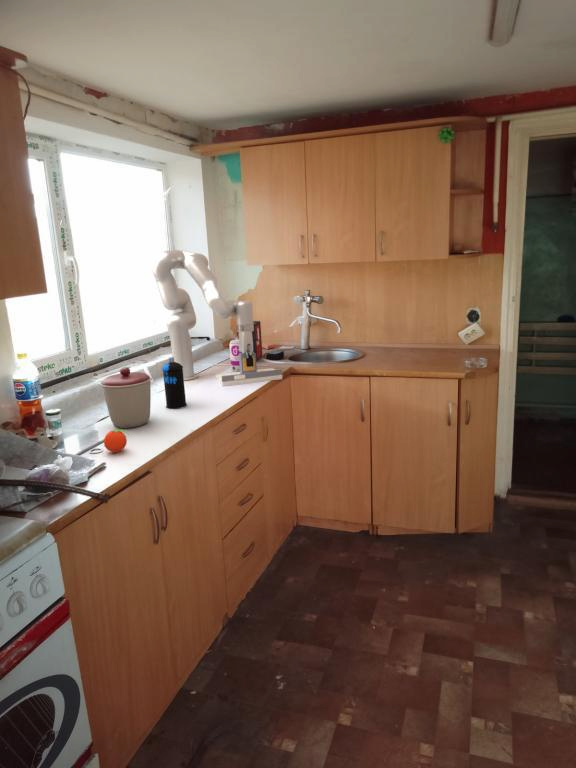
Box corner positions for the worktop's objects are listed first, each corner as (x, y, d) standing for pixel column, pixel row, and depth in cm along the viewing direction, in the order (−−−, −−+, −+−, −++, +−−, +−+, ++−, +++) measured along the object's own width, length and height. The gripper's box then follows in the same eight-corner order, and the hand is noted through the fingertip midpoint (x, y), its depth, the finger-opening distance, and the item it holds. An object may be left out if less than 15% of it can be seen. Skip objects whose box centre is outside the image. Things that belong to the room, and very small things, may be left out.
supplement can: (245, 371, 281) (243, 341, 277) (229, 371, 283) (226, 342, 279) (249, 368, 289) (247, 338, 285) (234, 368, 290) (231, 339, 287)
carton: (240, 374, 267) (238, 353, 264) (254, 372, 269) (253, 352, 266) (242, 376, 262) (240, 355, 260) (257, 374, 264) (255, 353, 262)
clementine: (129, 445, 185) (127, 424, 183) (132, 452, 178) (130, 430, 177) (104, 450, 182) (101, 429, 180) (106, 457, 175) (103, 435, 174)
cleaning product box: (247, 357, 317) (244, 321, 312) (262, 356, 315) (260, 320, 310) (239, 363, 301) (236, 325, 296) (255, 363, 299) (253, 325, 295)
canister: (95, 427, 205) (87, 370, 200) (133, 413, 220) (127, 360, 214) (129, 434, 195) (121, 375, 190) (167, 420, 210) (161, 364, 205)
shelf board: (222, 386, 255) (221, 376, 254) (216, 378, 270) (215, 369, 269) (282, 379, 262) (282, 369, 261) (273, 371, 277) (272, 362, 276)
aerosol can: (177, 402, 233) (172, 354, 228) (191, 405, 228) (186, 356, 223) (161, 407, 227) (156, 358, 222) (175, 410, 222) (169, 360, 217)
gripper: (233, 326, 267) (236, 361, 271) (241, 331, 251) (243, 368, 255) (249, 324, 269) (251, 360, 273) (257, 329, 253) (260, 367, 257)
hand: (247, 364), depth 264 cm, fingers open, 9 cm apart
